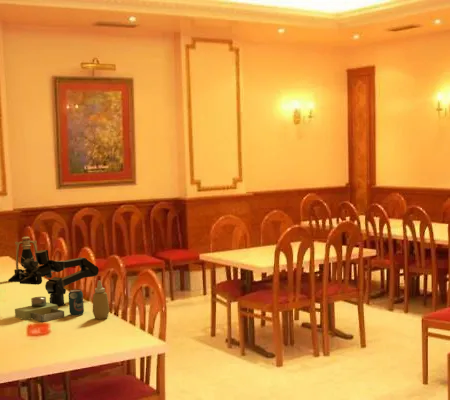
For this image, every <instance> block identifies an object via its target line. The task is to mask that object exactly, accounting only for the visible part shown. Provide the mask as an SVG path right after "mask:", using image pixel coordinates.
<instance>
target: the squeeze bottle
mask: <svg viewBox="0 0 450 400" xmlns="http://www.w3.org/2000/svg"><path fill="white" fill-rule="evenodd" d="M96 286H97V287H95V288H94V293H93V294H92V314H93V317H94V319H96V320H105V319H108V318H109V313H110V306H109V299H108V293H107V292H106V288H105V287H103V284H102V281H101V280H97V285H96Z"/></svg>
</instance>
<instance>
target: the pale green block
mask: <svg viewBox="0 0 450 400" xmlns="http://www.w3.org/2000/svg"><path fill="white" fill-rule="evenodd" d="M30 300H31V305H29V306H23V307H19V308H14V316H15V318H18V319H21V320H25V321H26V320H32V319H31V312H33V313H37V314H41V315H45V314H50V313H51V308H54V309H58V310H59V306H58V305H56V304H52V303H50V302H47V297H46V296H35V297H31V298H30Z"/></svg>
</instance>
